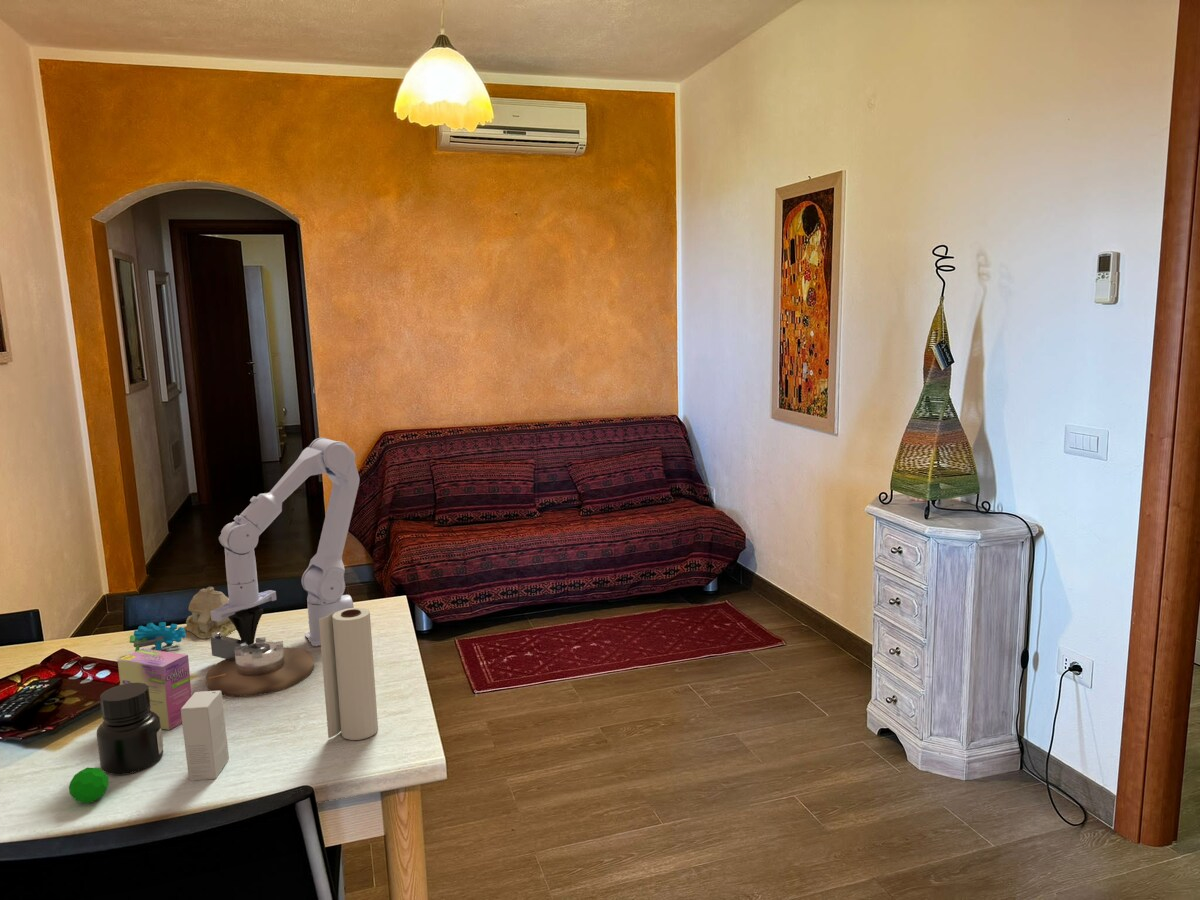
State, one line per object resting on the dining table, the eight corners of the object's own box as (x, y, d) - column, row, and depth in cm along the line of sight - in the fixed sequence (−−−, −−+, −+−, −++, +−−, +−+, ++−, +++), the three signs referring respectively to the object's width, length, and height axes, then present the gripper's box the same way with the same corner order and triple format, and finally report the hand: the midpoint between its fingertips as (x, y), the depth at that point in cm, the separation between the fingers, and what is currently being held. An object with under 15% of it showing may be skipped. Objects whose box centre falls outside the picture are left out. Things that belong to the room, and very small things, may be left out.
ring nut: (294, 661, 171) (292, 638, 170) (257, 678, 163) (255, 654, 162) (234, 646, 179) (231, 624, 178) (196, 662, 171) (193, 639, 171)
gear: (194, 634, 187) (173, 615, 179) (191, 659, 184) (170, 641, 175) (143, 644, 186) (120, 625, 178) (140, 669, 183) (115, 652, 175)
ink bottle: (177, 754, 139) (169, 685, 137) (128, 781, 131) (119, 708, 129) (137, 743, 143) (129, 675, 141) (86, 769, 135) (77, 698, 133)
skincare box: (202, 761, 136) (194, 691, 134) (229, 759, 137) (222, 689, 135) (187, 781, 130) (179, 708, 128) (216, 779, 131) (208, 706, 129)
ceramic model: (254, 625, 197) (250, 584, 195) (212, 642, 187) (207, 599, 185) (215, 616, 203) (211, 576, 202) (172, 632, 194) (167, 590, 192)
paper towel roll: (384, 725, 147) (376, 607, 143) (367, 742, 141) (359, 619, 137) (346, 722, 148) (337, 605, 145) (328, 739, 142) (318, 617, 139)
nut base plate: (301, 646, 183) (301, 639, 183) (325, 679, 166) (324, 671, 166) (200, 668, 172) (199, 661, 172) (214, 706, 156) (213, 697, 155)
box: (195, 716, 152) (188, 653, 150) (169, 731, 147) (162, 666, 145) (150, 708, 155) (143, 647, 153) (123, 722, 150) (116, 659, 148)
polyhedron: (85, 812, 123) (81, 782, 122) (63, 805, 125) (59, 775, 124) (117, 794, 127) (114, 765, 126) (96, 787, 129) (92, 758, 128)
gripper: (257, 568, 182) (263, 628, 185) (198, 588, 170) (204, 652, 172) (281, 572, 179) (286, 633, 181) (221, 592, 166) (228, 658, 169)
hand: (248, 643), depth 176 cm, fingers closed
